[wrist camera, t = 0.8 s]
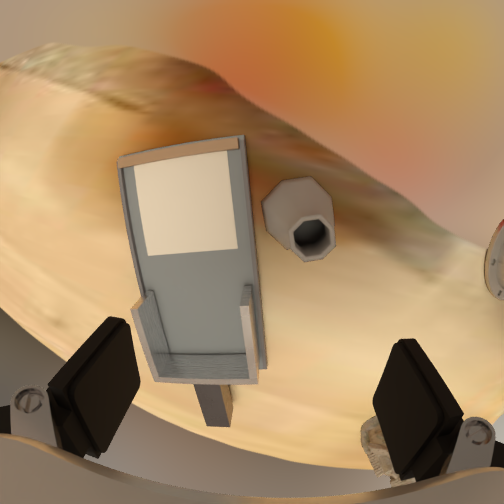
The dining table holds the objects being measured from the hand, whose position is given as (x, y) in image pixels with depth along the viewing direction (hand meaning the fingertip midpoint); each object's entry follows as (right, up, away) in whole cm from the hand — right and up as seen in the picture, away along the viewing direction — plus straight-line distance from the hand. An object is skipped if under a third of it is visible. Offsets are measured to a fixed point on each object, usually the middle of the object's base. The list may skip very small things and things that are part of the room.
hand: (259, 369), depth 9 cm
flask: (+4, +8, +19) cm, 21 cm away
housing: (-5, -8, +23) cm, 25 cm away
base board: (-6, +2, +21) cm, 22 cm away
